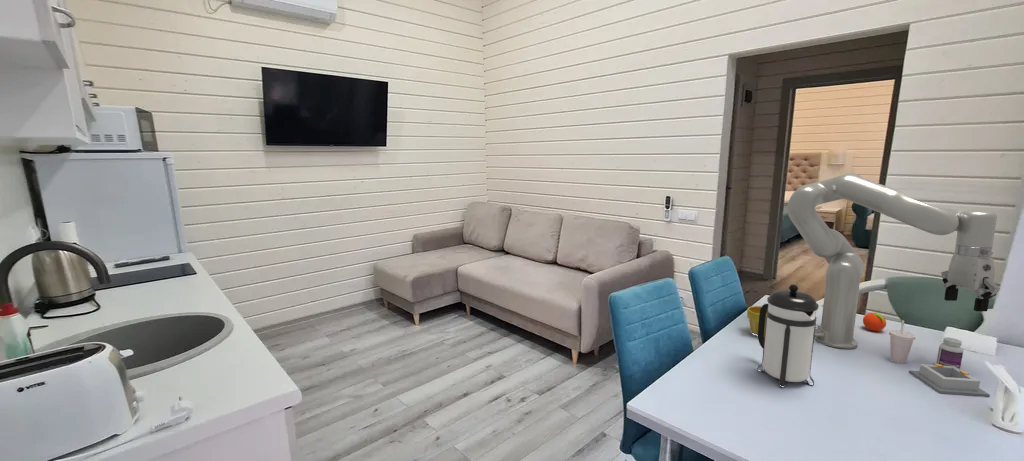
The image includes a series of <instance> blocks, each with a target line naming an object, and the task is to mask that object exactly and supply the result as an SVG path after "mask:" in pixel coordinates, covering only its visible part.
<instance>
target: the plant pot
mask: <svg viewBox="0 0 1024 461" xmlns="http://www.w3.org/2000/svg"><path fill="white" fill-rule="evenodd" d="M761 307H762V305H761V306H759V305H757V306H755V305H752V306H749V307H748V308H747V310H746V312H747V313H746V317H747V319H748V321H749V327H750V333H751V332H752V333H754V334H757V335H758V324H759V314H760V309H761ZM766 316H767V312H766ZM765 326H766V319H765ZM752 333H751V334H752ZM764 336H765V330H764Z"/></svg>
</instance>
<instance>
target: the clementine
mask: <svg viewBox="0 0 1024 461" xmlns="http://www.w3.org/2000/svg"><path fill="white" fill-rule="evenodd" d="M862 324H863V325H864V327H865V328H867V329H868V330H870V331H874V332H879V331H882V330H884V329H885V327H886V326H887V321H886V318H885V317H884V316H883V315H882V314H880V313H878V312H869V313H866V314H864V316H863V318H862Z"/></svg>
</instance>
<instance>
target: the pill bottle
mask: <svg viewBox="0 0 1024 461" xmlns="http://www.w3.org/2000/svg"><path fill="white" fill-rule="evenodd" d="M962 344H963V342H962V340H961V339H960V340H959V339H957V338H954V337H944V338H943V343H940V344H939V346H938V351H937V352H938V353H937V359H936V364H941V365H943V366H954V367H956V368H958V369H960V370H961V367H962V362H963V356H964V349H963V347H962Z"/></svg>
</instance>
